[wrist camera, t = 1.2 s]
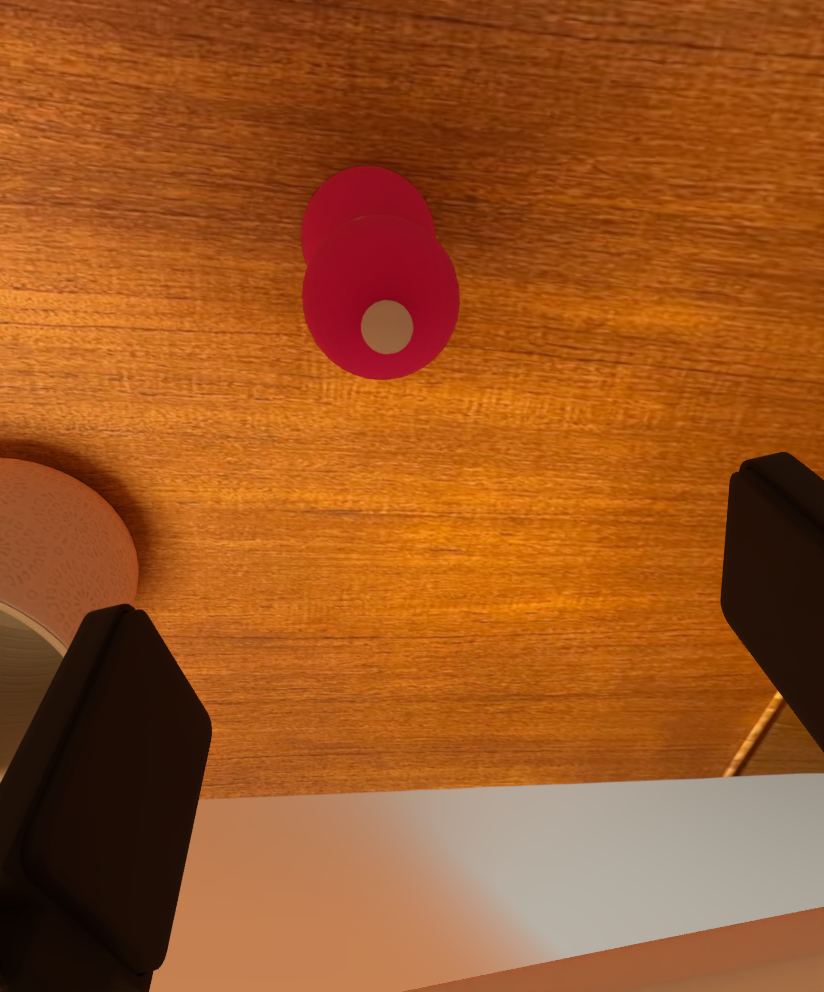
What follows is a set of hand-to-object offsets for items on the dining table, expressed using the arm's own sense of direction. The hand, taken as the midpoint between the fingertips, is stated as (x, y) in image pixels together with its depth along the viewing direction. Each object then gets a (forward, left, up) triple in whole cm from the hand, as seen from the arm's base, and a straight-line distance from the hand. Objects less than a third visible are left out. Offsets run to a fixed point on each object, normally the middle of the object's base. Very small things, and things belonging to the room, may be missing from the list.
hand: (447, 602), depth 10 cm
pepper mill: (0, 0, -33) cm, 33 cm away
